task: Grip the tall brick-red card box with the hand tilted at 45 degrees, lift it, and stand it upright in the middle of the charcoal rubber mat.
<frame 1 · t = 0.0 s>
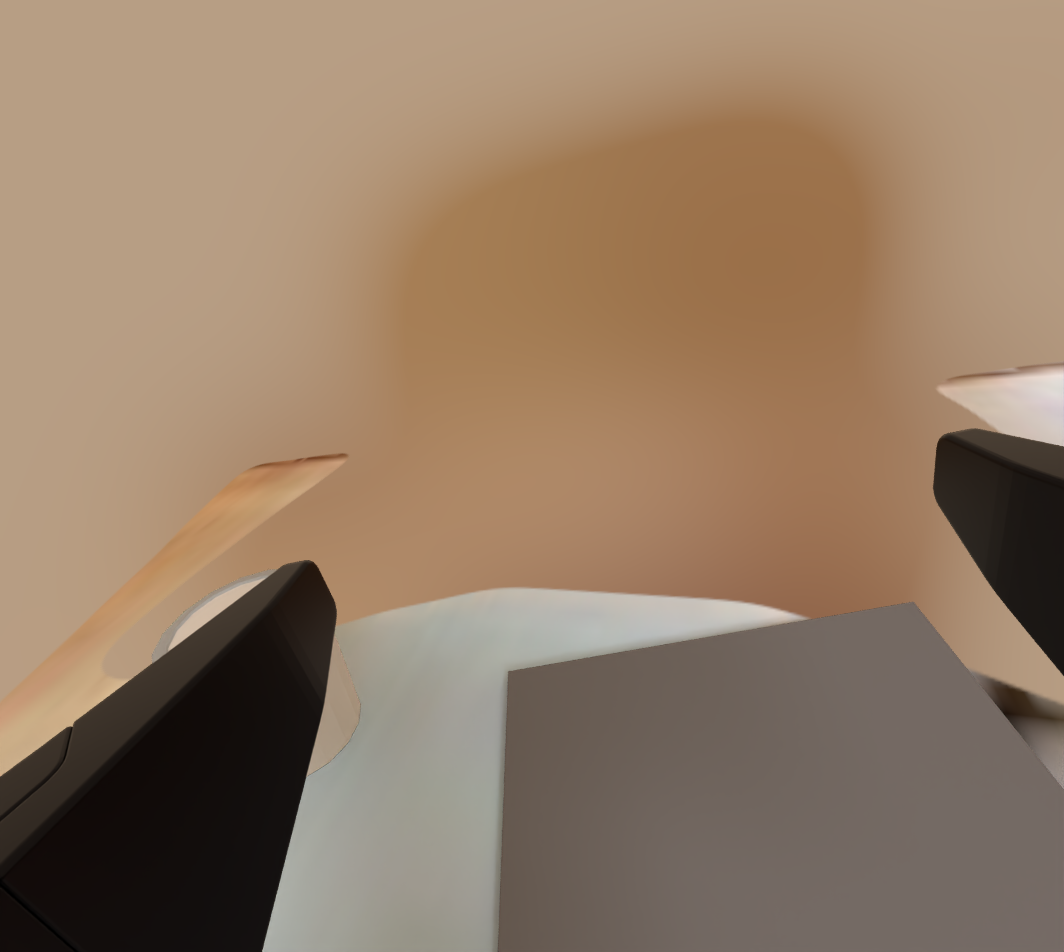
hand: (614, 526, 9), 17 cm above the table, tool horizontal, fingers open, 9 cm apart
mat: (771, 842, 21), on the table
shot glass: (304, 732, 30), on the table
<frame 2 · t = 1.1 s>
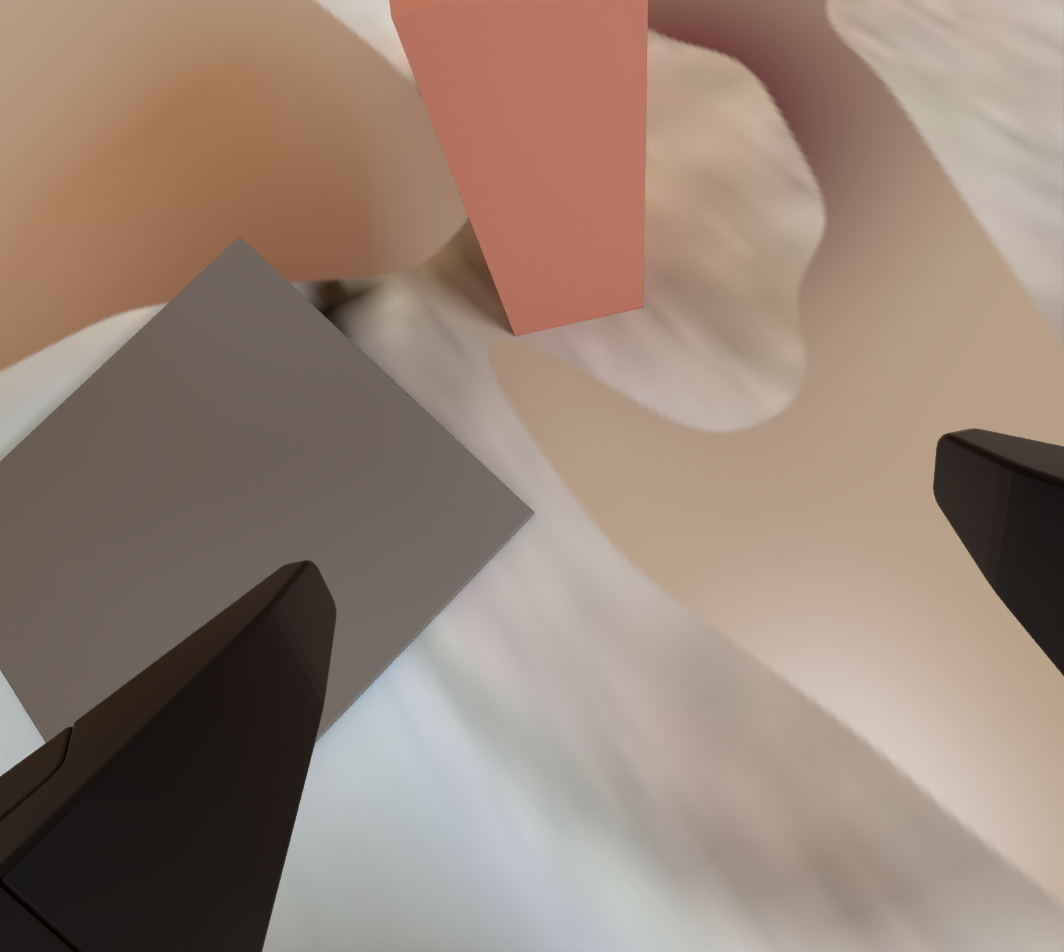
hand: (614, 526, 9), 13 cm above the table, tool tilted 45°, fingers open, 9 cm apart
card box: (567, 266, 25), on the table
mat: (208, 527, 25), on the table
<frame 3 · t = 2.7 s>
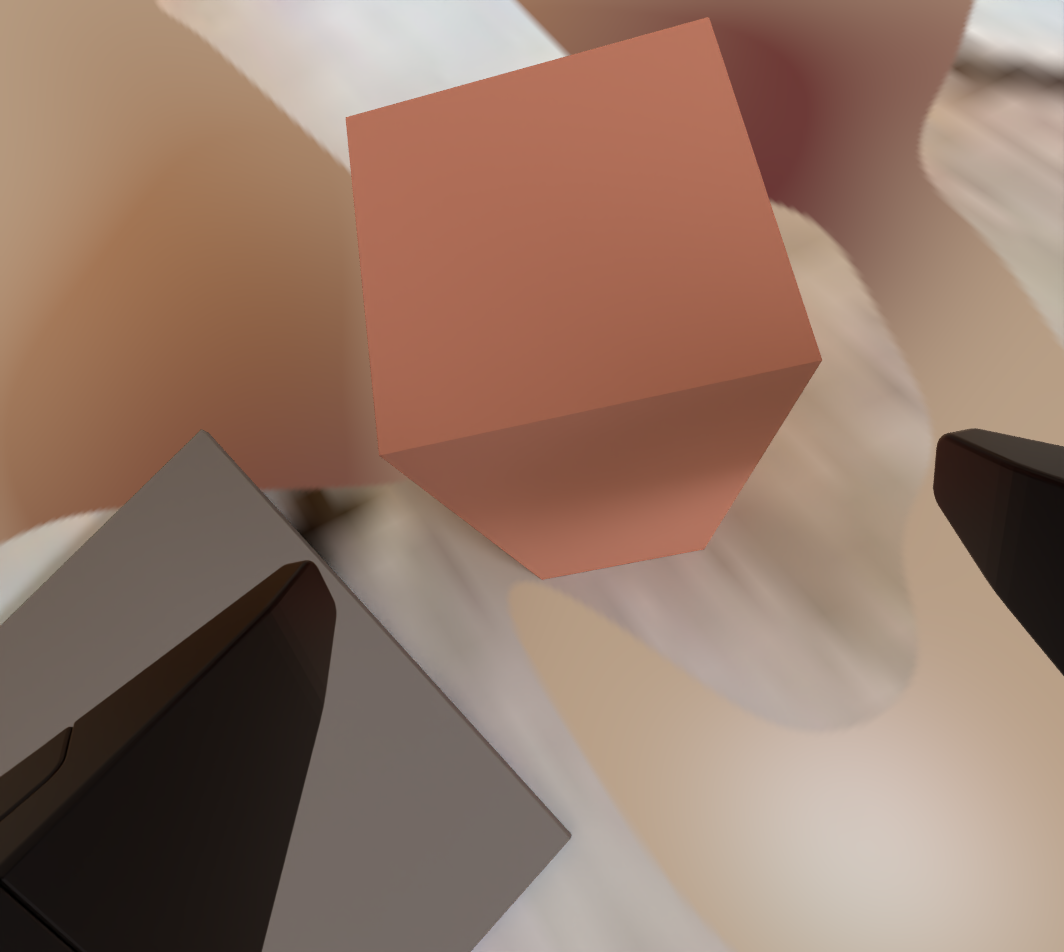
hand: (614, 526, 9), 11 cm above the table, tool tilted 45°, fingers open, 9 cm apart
card box: (605, 486, 20), on the table
mat: (158, 824, 20), on the table
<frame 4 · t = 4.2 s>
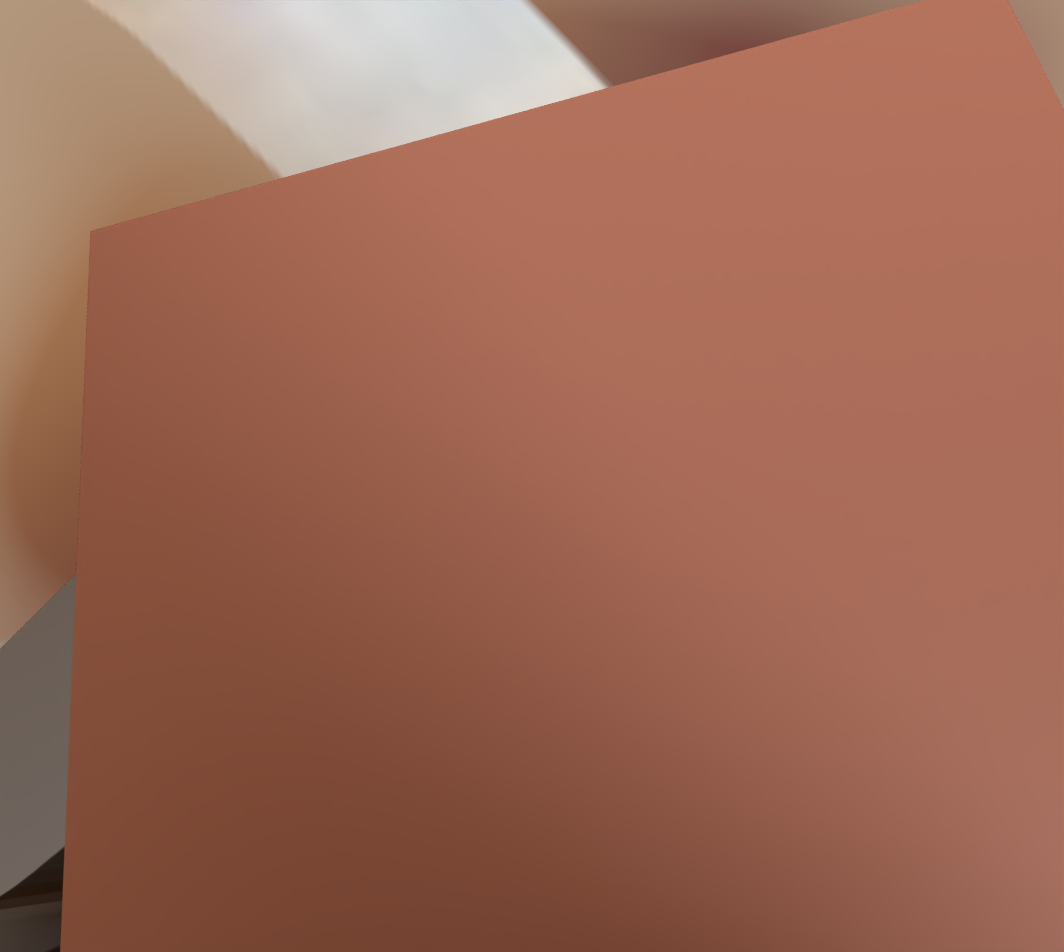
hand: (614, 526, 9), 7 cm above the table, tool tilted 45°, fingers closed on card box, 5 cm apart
card box: (635, 636, 15), on the table, touching gripper
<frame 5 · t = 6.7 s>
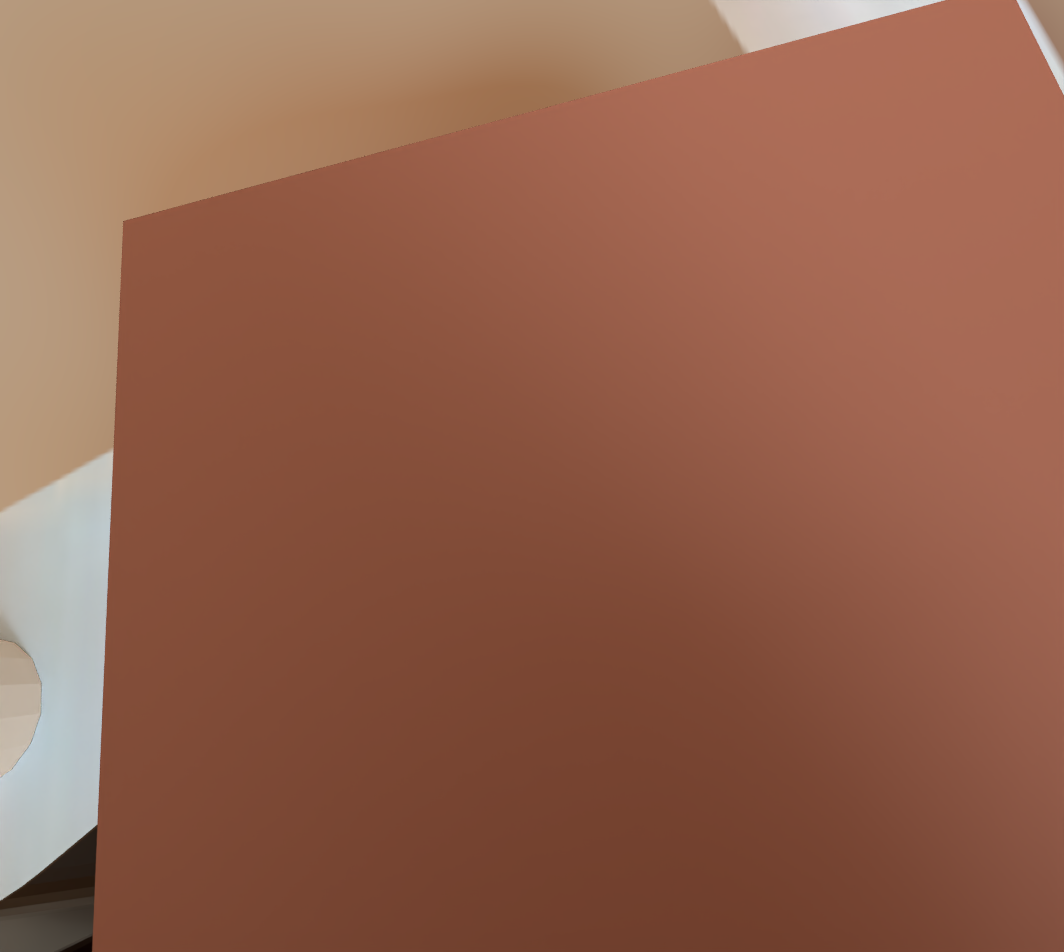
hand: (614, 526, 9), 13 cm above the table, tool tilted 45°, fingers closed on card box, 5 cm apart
card box: (640, 633, 15), point 7 cm above the table, touching gripper
when the fingers open (8 cm above the table, at t = 8.8 s): card box drops 1 cm, resting on mat.
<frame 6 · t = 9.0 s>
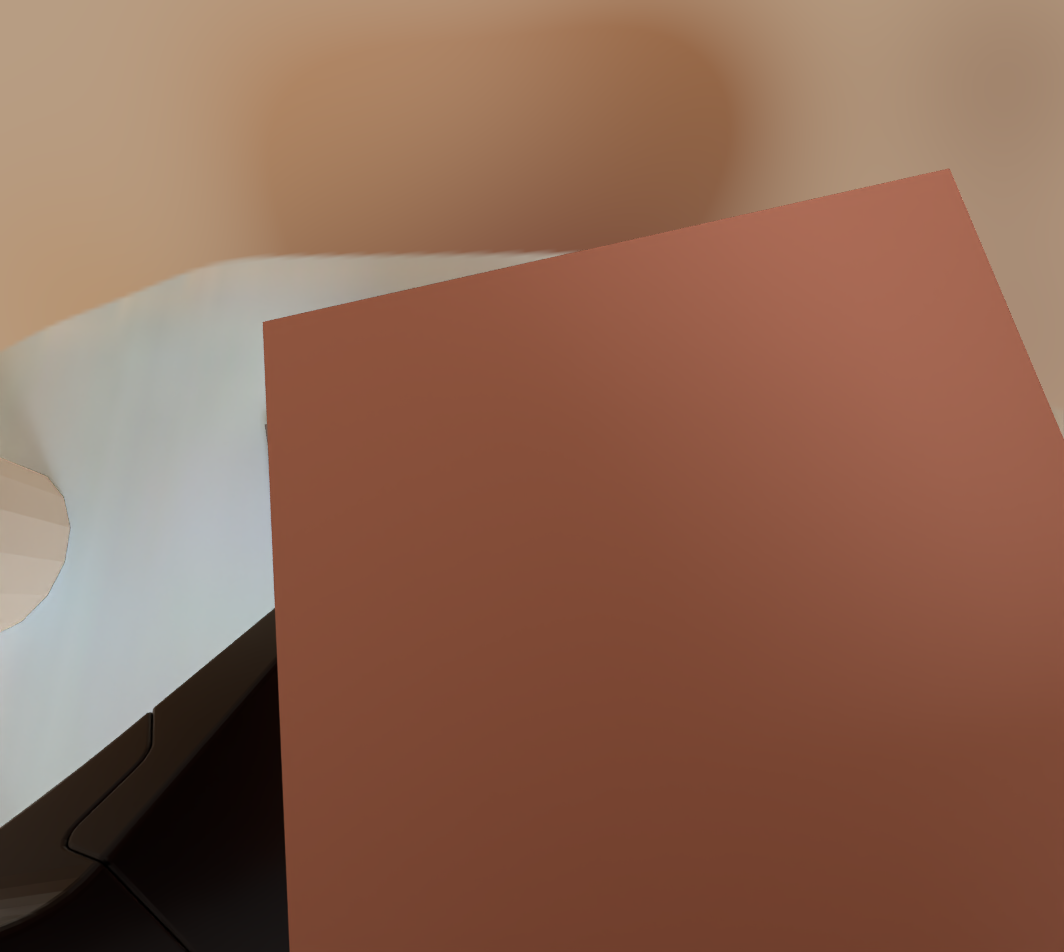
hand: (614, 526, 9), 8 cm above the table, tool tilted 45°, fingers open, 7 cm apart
card box: (633, 637, 16), resting on mat
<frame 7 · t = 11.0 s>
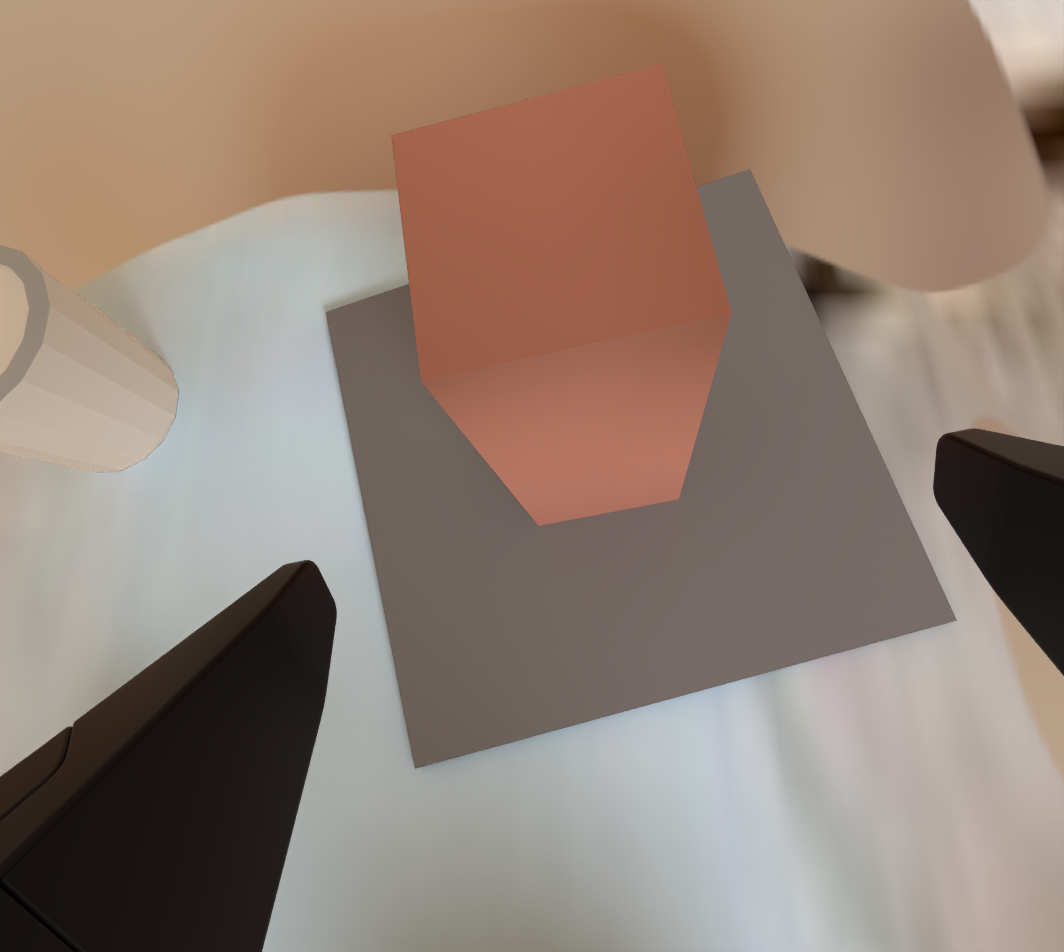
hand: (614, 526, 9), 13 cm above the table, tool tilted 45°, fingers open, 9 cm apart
card box: (594, 446, 23), resting on mat
mat: (596, 447, 24), on the table
shot glass: (122, 411, 28), on the table
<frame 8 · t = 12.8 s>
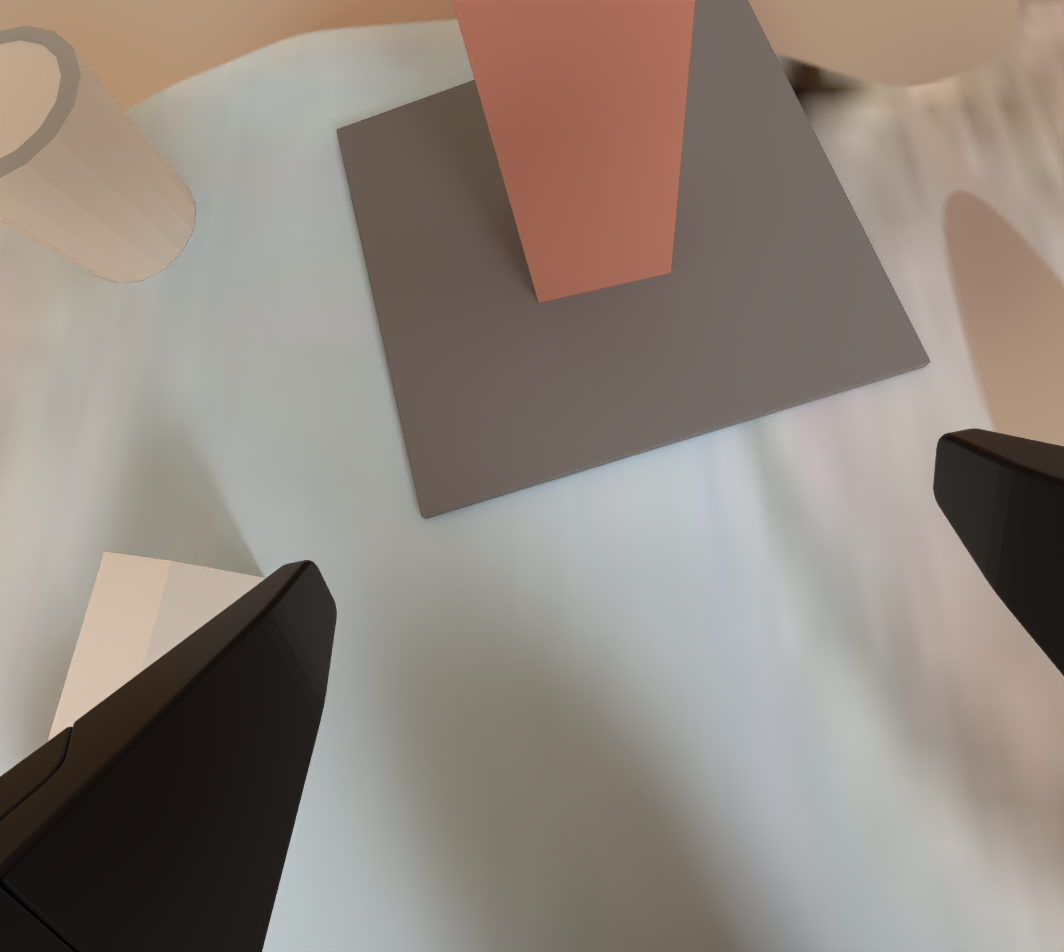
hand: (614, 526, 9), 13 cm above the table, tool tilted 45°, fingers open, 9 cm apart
card box: (591, 231, 25), resting on mat
mat: (593, 236, 25), on the table
napkin holder: (177, 739, 23), on the table
shot glass: (142, 230, 29), on the table
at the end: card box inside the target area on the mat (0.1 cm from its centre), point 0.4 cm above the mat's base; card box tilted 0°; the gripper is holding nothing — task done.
